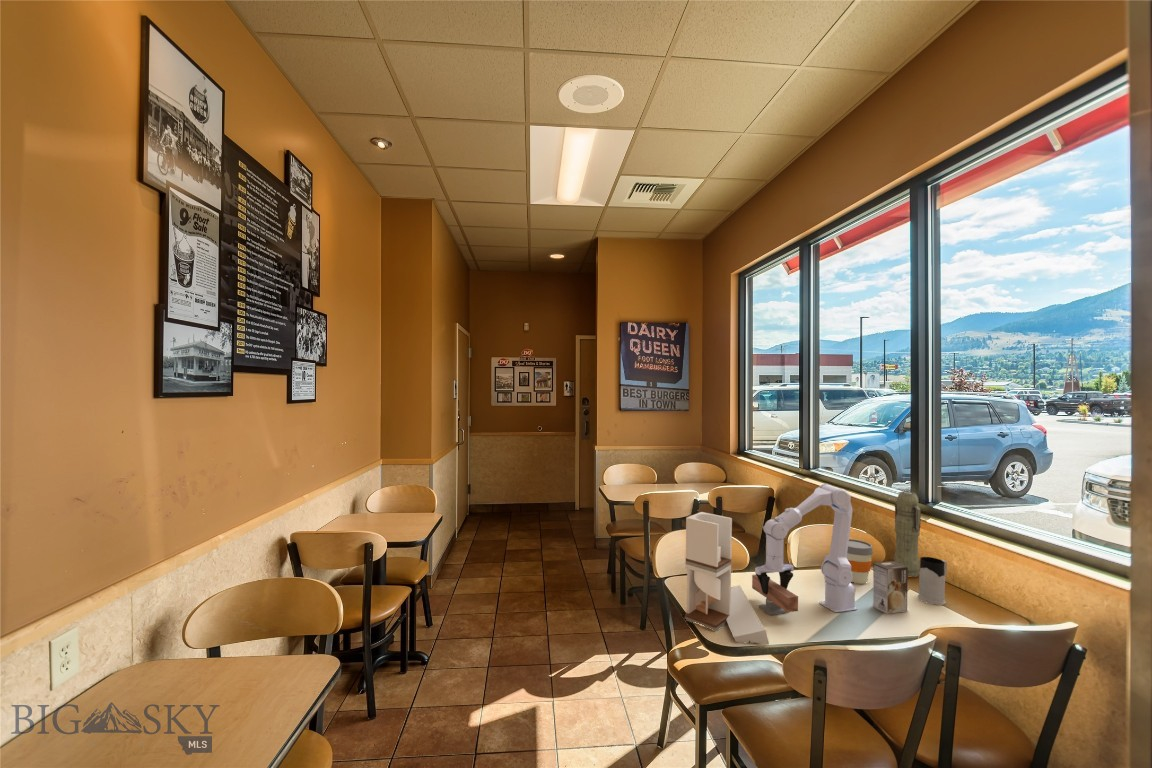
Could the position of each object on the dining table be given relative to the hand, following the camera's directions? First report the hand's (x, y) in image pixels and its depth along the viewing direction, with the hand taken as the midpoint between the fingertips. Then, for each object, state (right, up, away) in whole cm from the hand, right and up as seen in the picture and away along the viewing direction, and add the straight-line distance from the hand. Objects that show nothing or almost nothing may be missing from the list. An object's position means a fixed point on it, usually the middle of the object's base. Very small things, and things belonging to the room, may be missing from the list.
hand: (774, 592), depth 176 cm
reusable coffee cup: (+45, -7, +29) cm, 54 cm away
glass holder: (+66, -7, +12) cm, 68 cm away
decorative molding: (-14, -7, -5) cm, 17 cm away
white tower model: (-26, -6, -8) cm, 28 cm away
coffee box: (+43, -7, +2) cm, 43 cm away
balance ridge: (0, -6, 0) cm, 6 cm away
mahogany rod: (0, -2, 0) cm, 2 cm away
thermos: (+71, -7, +36) cm, 80 cm away
